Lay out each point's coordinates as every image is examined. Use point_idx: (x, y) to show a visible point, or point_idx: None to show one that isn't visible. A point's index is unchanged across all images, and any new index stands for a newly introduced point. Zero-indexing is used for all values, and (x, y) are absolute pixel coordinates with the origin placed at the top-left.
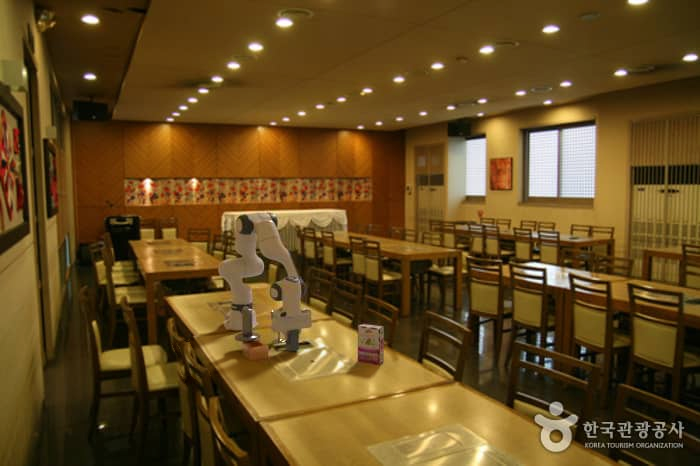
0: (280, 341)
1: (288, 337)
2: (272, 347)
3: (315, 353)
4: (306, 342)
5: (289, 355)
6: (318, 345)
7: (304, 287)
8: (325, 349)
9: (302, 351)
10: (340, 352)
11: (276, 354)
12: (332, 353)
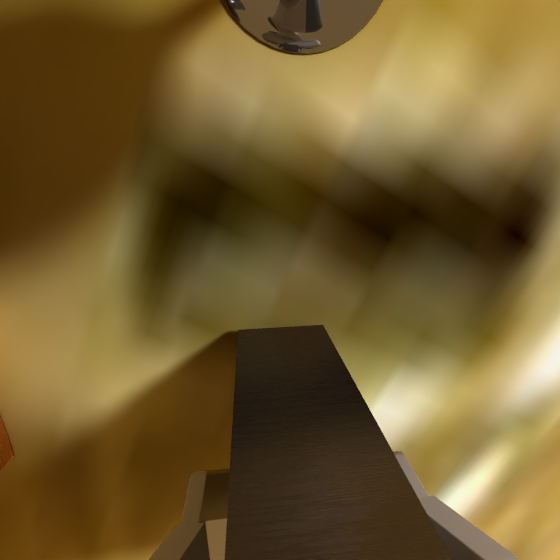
0: (297, 13)
1: None
2: (129, 185)
3: None
4: (526, 206)
5: None
6: (543, 343)
7: None
8: (514, 448)
9: None
10: (542, 529)
11: (108, 411)
12: (492, 529)
